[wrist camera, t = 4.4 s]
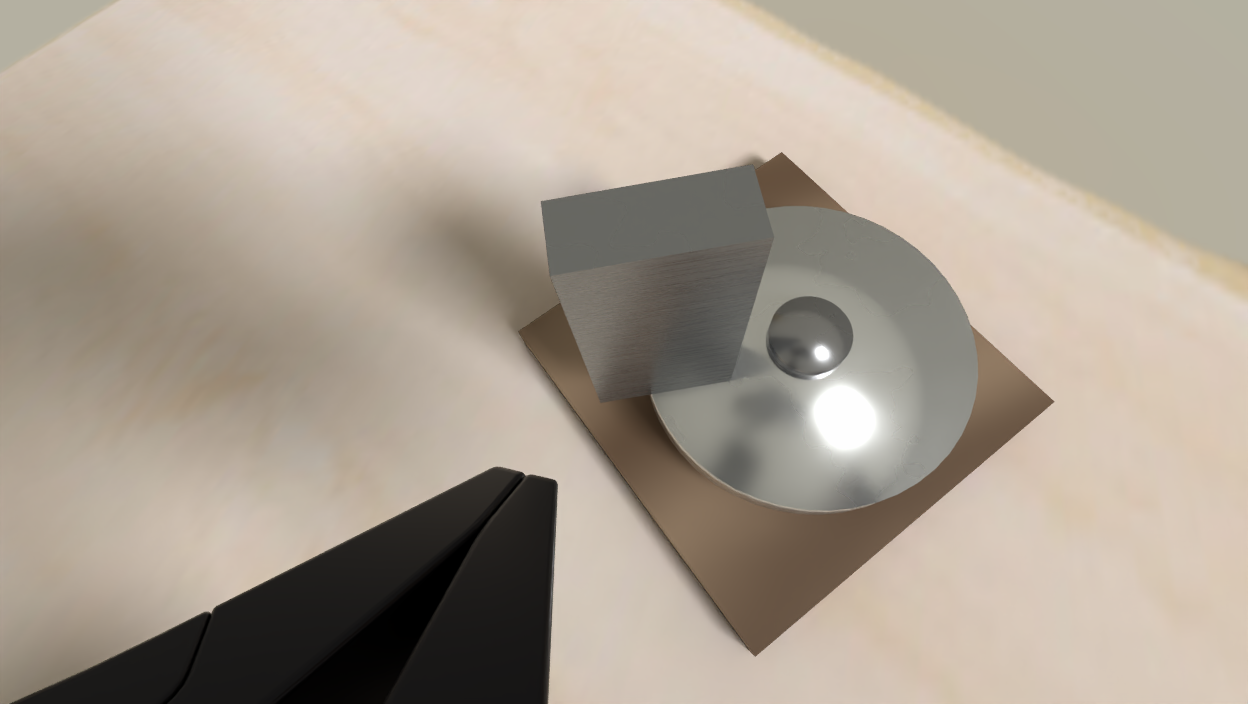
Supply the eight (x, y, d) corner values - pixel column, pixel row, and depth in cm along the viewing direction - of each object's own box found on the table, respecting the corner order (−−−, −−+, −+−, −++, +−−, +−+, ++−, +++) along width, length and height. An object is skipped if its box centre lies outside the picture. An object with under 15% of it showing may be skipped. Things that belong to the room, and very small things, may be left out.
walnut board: (1036, 410, 20) (1137, 363, 16) (750, 652, 18) (776, 675, 14) (777, 168, 24) (800, 80, 20) (524, 342, 22) (489, 285, 18)
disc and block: (899, 204, 21) (1059, -58, 12) (1010, 484, 17) (1349, 391, 9) (582, 259, 21) (521, 39, 12) (624, 548, 17) (579, 520, 9)
